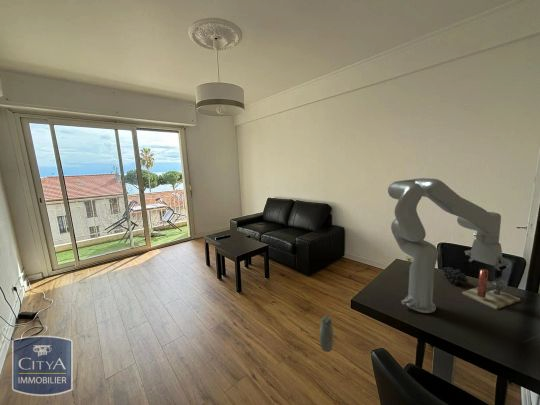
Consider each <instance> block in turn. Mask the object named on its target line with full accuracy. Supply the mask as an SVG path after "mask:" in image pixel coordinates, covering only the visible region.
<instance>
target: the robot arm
mask: <svg viewBox="0 0 540 405" xmlns="http://www.w3.org/2000/svg"><path fill="white" fill-rule="evenodd" d="M387 194H388V195H389V197H391V199H394V200H398V201H397V202H396V205H395V207H394V212H393V213H394V216H395V218H394V219H393V221H392V222H391V225H390V229H391V233H392V235H393V237H394V240H395V242H396V243H397V246H398V248H399V249H400V250H401V251H402V252H403V253H404V254H406V255H408V256H409V257H410V258H412V260H413V261H412V262H411V264H410V266H409V274H408V292H407V293H408V294H407V295H406V296H405V297H404V299H402V300H400V302H401V304H402V305H403V306H404V305H406V306H407V307H408V308H409V309H411V310H413V311H415V312H419V313H422V314H423V313H424V314H430V313H434V312H435V311H436V310H437V307H436V304H435V303H434V302H433V298H434V297H433V296H434V295H433V294H434V283H435V282H434V281H435V268H436V264H437V261H438V258H439V251H438V248H437V247H436V245H435V244H433V243H431V242H429V241H426V240H425V239H426V237H427V236H426V235H427V234H426V230H425V226H424V225H423V223H422V220H421V218H420V217H419V214H418V212H417V207H418V204H419V202H420V201H421V199H422V198H423V197H424V198H428V200H430V201H431V202H432V203H434V204H435V205H436V206H438V208H440V209H441V210H443V211H444V212H446V213H448V214H451V215H453V216H456V217H457V219H456V221H457V223H458V225H459V226H461V227H462V228H465V229H468V230H472V231H476V233H473V237H475V239H474V240H473V242H472V245H471V249H468V250H464V253H465V256H466V258H467V259H468V262H469V270H471V271H473V270H476V269H477V268H476V267H477V262H480V263H483V264H486V265H490V266H493V267H494V268H495V270H494V278H495V279H500V278H502V276H503V270H505V269H508V268H509V267H510V266H511V265H512V263H511V262H510V261H508V260H507V259H506V258H505V257H503V250H502V245H501V243H500V236H501V234H500V233H501V223H502V216H501V214H500V213H498V212H495V211H487V210H486V209H484V208H483V207H481V206H479V205H477V204H475V203H473V202H472V201H471V200H467V199H466V198H464V197H462V196H460V195H459V194H457V192H455V191H454V190H453V189H452V188H451V187H449V186H448V185H447V184H446V183H444V182H443V181H442V180H440V179H437V178H425V177H421V178H420V177H419V178H412V179H404V180H398V181H397V180H396V181H393V182H392V183H391V184H390V185H389V186H388V188H387ZM502 263H503V265H502Z"/></svg>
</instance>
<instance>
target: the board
mask: <svg viewBox="0 0 540 405" xmlns="http://www.w3.org/2000/svg"><path fill="white" fill-rule="evenodd" d="M477 291H478V286H477V287H473V288H470V289H467V290H465V291H464V290H463V291H462V292H461V294H462V295H464V296H466V297H467V298H470V299H472V300H474V301H477V302H479V303H481V304H483V305H484V306H485V305H486V306H488V307H490V308H492V309H494V310H499V309H501V308H505V307H507V306H509V305H512V304H515V303H517V302H520V301H521V298H520V297H518V296H515V295H512V294H510V293H507V292H504V291H503V290H502V289H495V290H491V291H488V292H486V297H480V296H478V295H477Z"/></svg>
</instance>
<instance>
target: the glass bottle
mask: <svg viewBox="0 0 540 405" xmlns="http://www.w3.org/2000/svg"><path fill="white" fill-rule="evenodd" d="M318 335H319V346H320V348H321V350H322V351H323V352H326V353H330V352H331V351H332V350H333V346H334V329H333V326H332V320H331V317H329V316H325V315H324V316H322V318H321V325H320V327H319V334H318Z"/></svg>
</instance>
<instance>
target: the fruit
mask: <svg viewBox="0 0 540 405" xmlns="http://www.w3.org/2000/svg"><path fill="white" fill-rule="evenodd" d="M442 272H443V275H444V276H445V278H446V279H447V280H448V282H450V284H451V285H454V286H457V285H458V286H465V285H466V283H467V282H469V279H468V278H466V275H467V274H465V273H463V272H462V270H461V269H459V268H458V269H454V268H453V267H451V266H449V267H448V266H444V267H442Z"/></svg>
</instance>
